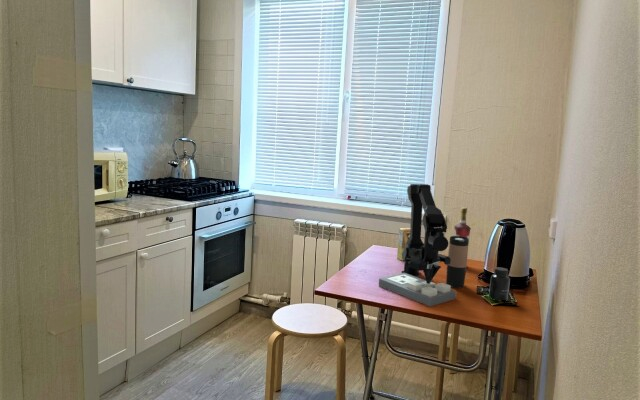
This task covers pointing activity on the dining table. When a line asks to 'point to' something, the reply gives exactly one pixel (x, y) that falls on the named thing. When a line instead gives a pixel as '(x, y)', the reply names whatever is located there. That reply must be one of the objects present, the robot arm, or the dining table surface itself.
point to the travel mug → (457, 261)
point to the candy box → (402, 241)
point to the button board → (400, 286)
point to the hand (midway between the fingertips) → (428, 283)
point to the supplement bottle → (499, 284)
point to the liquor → (462, 226)
